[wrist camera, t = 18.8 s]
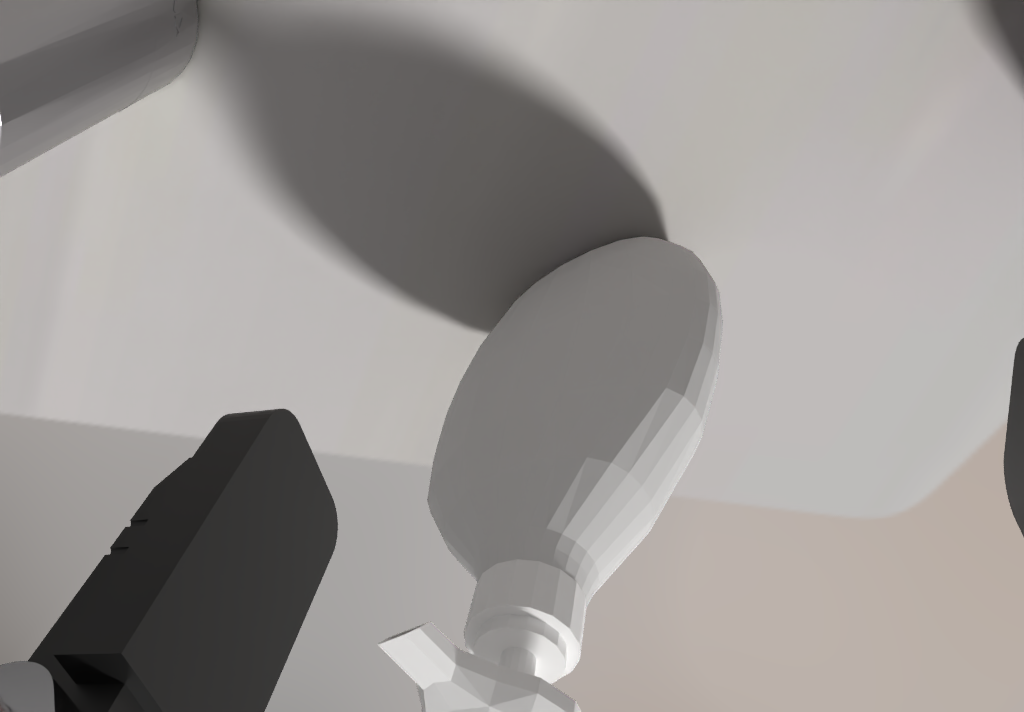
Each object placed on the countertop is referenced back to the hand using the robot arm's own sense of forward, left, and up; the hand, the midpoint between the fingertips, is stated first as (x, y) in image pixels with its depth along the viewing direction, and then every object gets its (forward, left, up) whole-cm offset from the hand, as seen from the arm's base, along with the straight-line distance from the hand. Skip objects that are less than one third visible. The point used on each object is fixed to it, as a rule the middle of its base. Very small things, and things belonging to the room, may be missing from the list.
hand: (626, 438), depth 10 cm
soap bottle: (-6, -14, -32) cm, 35 cm away
